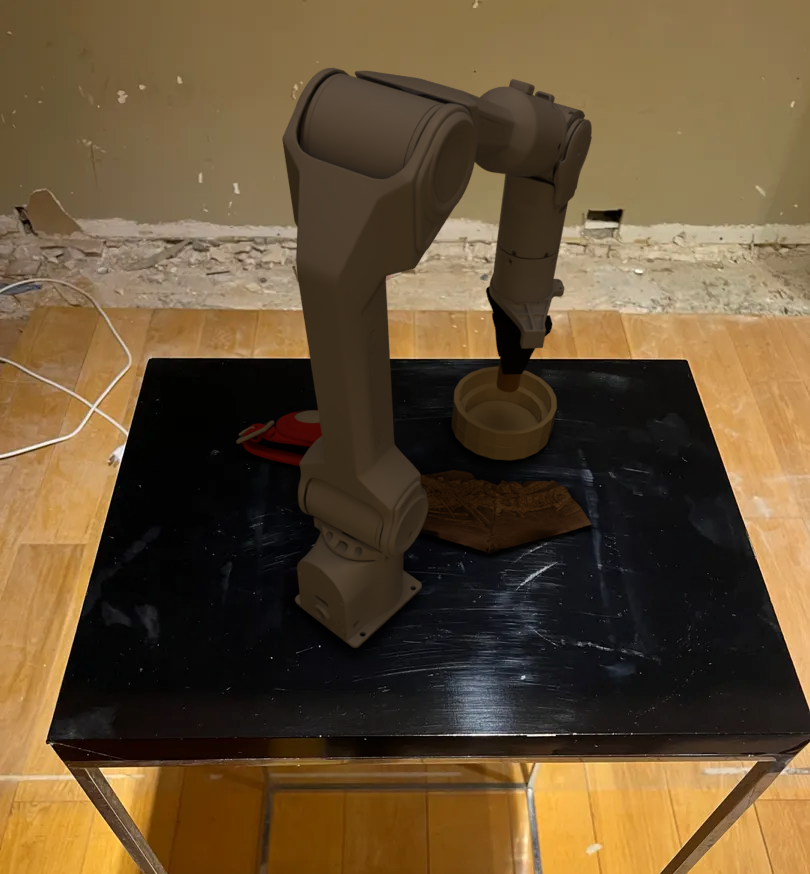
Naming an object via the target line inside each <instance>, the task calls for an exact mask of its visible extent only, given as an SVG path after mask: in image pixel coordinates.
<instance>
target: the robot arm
mask: <svg viewBox="0 0 810 874" xmlns="http://www.w3.org/2000/svg"><path fill="white" fill-rule="evenodd" d="M354 75H355V76H353V75H350V74H349V73H348V72H347V71H345V70H344V69H340V68H336V67H327V68H323V69H321V70H319V71H317V73H315V74H314V75H313V76H312V78H310V80H309V81H308V82H307V83H306V85H305V87H304V89H303V90H302V92H301V93H300V96H299V97H298V99H297V102H296V104H295V108H294V110H293V112H292V115H291V117H290V119H289V120H288V121H289V122H288V123H287V126H286V129H285V131H284V133H283V135H282V139H281V140H282V146H283V153H284V161H285V167H286V168H285V169H286V173H287V180H288V181H287V182H288V188H289V194H290V201H291V207H292V215H293V221H294V224H295V226H296V250H295V255H296V256H295V264H296V265H295V266H296V276H297V282H298V289H299V295H300V302H301V308H302V315H303V320H304V328H305V334H306V342H307V348H308V354H309V360H310V366H311V373H312V380H313V385H314V393H315V399H316V405H317V410H318V413H319V419H320V426H321V432H322V436H321V437H320V438H318V439H317V440H316V441H315V442H314V443H313V445H312V446H311V447H308V449H307V450H306V452H305V453H304V454H303V455H304V457H303V458H302V460H301V461H300V464H299V465H300V466H299V469H300V478H299V482H298V486H297V503H298V506H299V507H298V508H299V509H300V511H302V513H304V514H306V515H309V516H311V517H312V516H313V526H314V527H315V528H316V529H318V530H319V535H318V538H317V539H316V541H315V543H314V544H313V546H312V548H310V550H309V551H308V553H307V554H306V555H305V556H304V557H302V558H301V559H300V560H299V561H298V563H297V566H296V573H297V583H298V589H299V590H298V591H299V592H298V594H297V595H296V596H295V597H294V602H295V604H296V605H297V606H298V607H299V608H301V609H302V610H304V611H305V612H306V613H307V614H309V615H310V616H311V617H312V618H314V619H315V620H316V621H318V622H319V623H320V624H322V625H323V626H324V627H325V628H327V629H328V630H329V631H331V633H333V634H334V635H336V636H337V637H338V638H340V639H341V640H342V641H343V642H345V643H346V644H347V645H348V646H350V647H351V648H354V649H357V648H359V647H360V646H362V644H364V643H365V642H366V641H368V639H369V638H370V637H372V635H373V634H374V633H376V632H377V631H378V630H379V629H380V628H381V627H382V626H383V625H385V623H387V622H388V620H390V619H391V618H392V617H393V616H394V615H396V613H397V612H398V611H399V610H401V609H402V608H403V607H404V606H405V605H406V604H407V603H409V601H410V600H412V599H413V598H414V597H415V596H416V595H417V594H418V593H419V592H420V591H421V590H422V588H423V584H422V582H421V581H419V580H418V579H416V578H415V577H414V576H412V575H411V574H410V573H408V572H407V571H405V570H404V560H405V559H404V557H405V552H406V551H407V550H408V549H409V548H410V547H411V546H413V544H414V542H415V541H416V540H417V538H418V536H419V535H420V533H421V532H420V531H421V529H422V527H423V524H424V522H425V519H426V516H427V512H428V499H427V493H426V491H425V490H424V489H423V488H422V486H421V475H422V474H421V472H420V471H419V470H418V469H417V468H416V466H415V465H414V464H413V463H412V462H411V461H410V460H409V459H408V458H407V457H406V455H404V454H403V453H402V451H401V450H400V449H399V448H398V446H396V444H395V431H394V430H395V429H394V428H395V427H394V411H393V410H394V409H393V391H392V374H391V373H392V372H391V371H392V370H391V353H390V334H389V330H390V329H389V314H388V311H389V310H388V294H387V293H388V291H387V277H388V276H391V275H395V274H396V275H397V274H400V273H403V272H407V271H411V270H414V269H416V268H417V266H418V264H419V263H420V261H421V260H422V259H423V257H424V255H425V253H426V252H427V251H428V250H429V249H430V247H431V246H432V244H433V243H434V241H435V239H436V238H437V236H438V235H439V233H440V232H441V230H442V228H443V226H445V224H446V222H447V220H448V218H449V217H450V215H451V214H452V212H453V211H454V209H455V207H456V206H457V205H458V204H459V202H460V201H461V200H462V198H463V196H464V195H465V193H466V191H467V189H468V186H469V183H470V181H471V179H472V176H473V172H474V167H475V164H476V165H477V166H478V167H480V169H482V170H484V171H486V172H489V173H493V174H501V175H504V180H503V190H502V198H501V205H500V213H499V221H498V231H497V238H496V245H495V246H496V247H495V255H494V265H493V270H492V271H493V272H492V275H491V278H490V281H489V286H487V287H486V288H485V293H486V297H487V301H488V303H489V305H490V308H491V310H492V313H491V319H492V323H493V326H494V331H495V333H494V334H495V346H496V351H497V355H498V358H499V362H501V368H502V373H503V374H504V375H513V374H522V373H523V371H526V370H525V369H526V368H527V366H528V364H529V362H530V360H531V357H532V355H533V353H534V352H535V350H536V349H543V348H544V344H545V339H546V336H548V335H549V334H550V333H551V331H552V328H553V321H552V318H551V315H550V314H549V310H550V307H551V305H552V300H553V298H555V297H559V298H560V297H562V296H564V294H565V286H564V283H563V281H562V280H561V279H559V278H555V274H556V271H557V270H556V269H557V264H558V258H559V254H560V248H561V242H562V239H563V238H562V237H563V232H564V227H565V222H566V216H567V211H568V205H569V201H570V200H572V199H573V197H574V196H575V193H576V191H577V188H578V184H579V178H580V176H581V175H580V174H581V171H582V169H583V167H584V164H585V162H586V160H587V158H588V157H587V156H588V154H589V151H590V147H591V145H592V139H593V136H592V131H593V127H592V122H591V121H590V120H589V119H586V118H585V117H586V115H585V112H584V111H583V110H581V109H578V108H575V107H571V106H567V105H564V104H560V103H556V102H555V99H556V97H555V95H553V94H552V93H549V92H546V91H541V90H537V91H536V92H535V87H536V86H535V85H534V84H531V83H530V82H529V83H528V82H526V81H522V80H518V79H514V78H511V79H510V80H509V81H510V82H509V83H508V86H498V87H493V88H492V89H489V90H487V91H486V92H484V93H482V95H481V96H477V95H474V94H473V93H470V92H467V91H465V90H461V89H458V88H455V87H451V86H448V85H444V84H441V83H437V82H434V81H431V80H427V79H423V78H418V77H414V76H407V75H400V74H393V73H386V72H378V71H372V70H356V71H354ZM362 635H364V636H362Z"/></svg>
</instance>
